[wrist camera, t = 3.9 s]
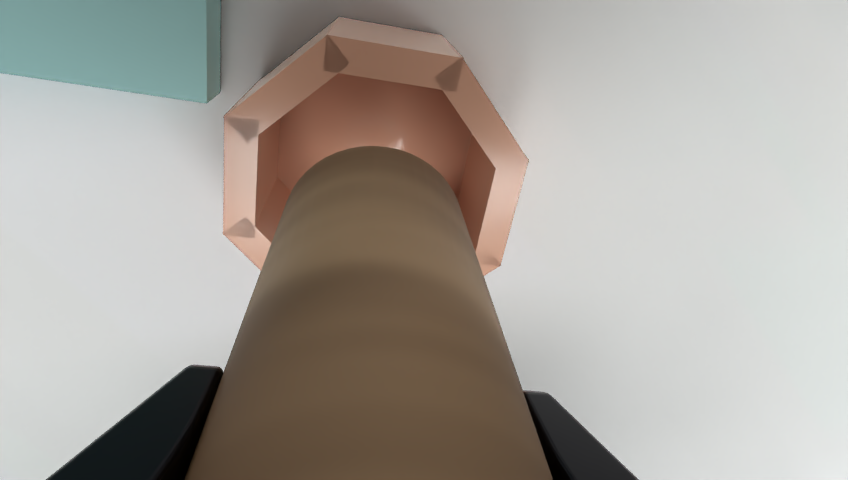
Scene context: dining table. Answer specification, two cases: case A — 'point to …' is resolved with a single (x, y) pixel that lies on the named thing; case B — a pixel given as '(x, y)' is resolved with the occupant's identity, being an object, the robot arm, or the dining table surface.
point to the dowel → (370, 342)
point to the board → (116, 44)
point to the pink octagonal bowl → (369, 129)
